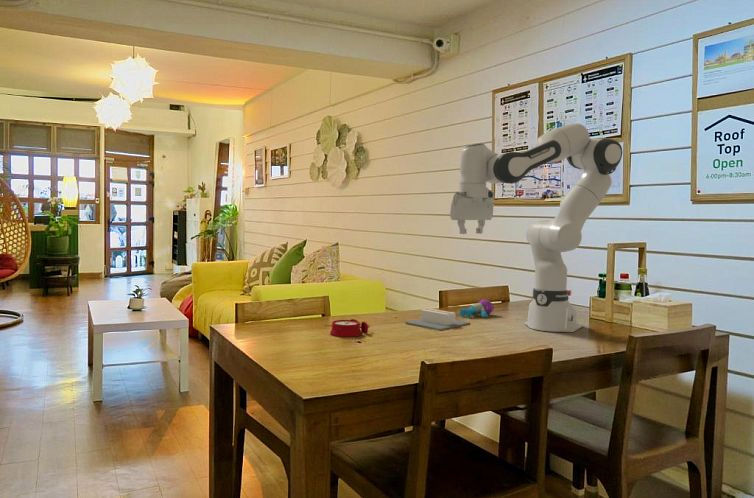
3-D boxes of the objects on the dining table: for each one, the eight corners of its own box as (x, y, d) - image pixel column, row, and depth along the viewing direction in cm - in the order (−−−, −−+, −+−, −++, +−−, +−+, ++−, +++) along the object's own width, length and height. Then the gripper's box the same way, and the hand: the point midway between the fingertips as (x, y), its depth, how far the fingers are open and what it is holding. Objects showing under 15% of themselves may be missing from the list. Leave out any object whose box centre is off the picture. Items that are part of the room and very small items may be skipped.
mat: (435, 317, 230) (435, 316, 230) (469, 324, 219) (470, 322, 219) (405, 323, 217) (405, 322, 217) (440, 330, 206) (440, 328, 206)
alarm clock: (321, 323, 196) (355, 308, 206) (324, 340, 198) (358, 325, 207) (340, 328, 189) (375, 313, 198) (343, 346, 190) (378, 331, 199)
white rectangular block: (455, 323, 216) (455, 312, 215) (446, 325, 212) (447, 314, 212) (429, 319, 224) (429, 308, 223) (420, 320, 220) (421, 309, 220)
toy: (476, 325, 228) (503, 314, 237) (474, 308, 227) (501, 298, 236) (455, 320, 238) (482, 310, 246) (453, 304, 237) (480, 295, 245)
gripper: (462, 191, 190) (460, 234, 191) (497, 193, 204) (495, 233, 205) (446, 191, 194) (444, 233, 195) (481, 193, 209) (480, 232, 210)
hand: (471, 233), depth 200 cm, fingers open, 8 cm apart
